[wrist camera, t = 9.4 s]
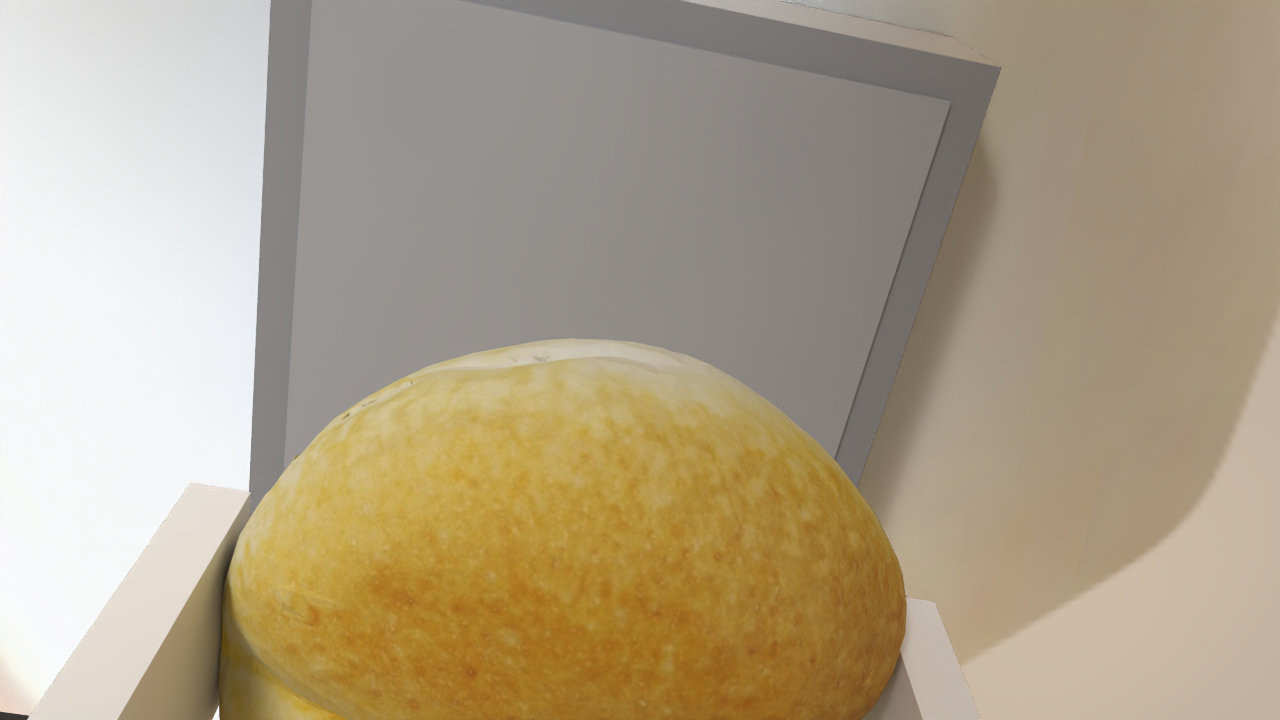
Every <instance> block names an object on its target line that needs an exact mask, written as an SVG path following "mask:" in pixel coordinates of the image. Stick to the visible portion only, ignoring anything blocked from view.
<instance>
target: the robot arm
mask: <svg viewBox="0 0 1280 720" xmlns="http://www.w3.org/2000/svg"><path fill="white" fill-rule="evenodd" d="M250 498H251V492H246V491H240V490H233V489H227V488H221V487H215V486H208V485H202V484H196V483H190V484H189V486H188V487H187V488H186V490H185V491H184V493H183V494H182V496H181V497H180V499H179V500H178V502H177V503H176V504H175V506H174V507H173V509H172V510H171V512H170V513H169V515H168V516H167V517H166V519H165V520H164V522H163V523H162V525H161V526H160V528H159V529H158V530H157V532H156V533H155V535H154V536H153V538H152V539H151V541H150V542H149V544H148V545H147V546H146V548H145V549H144V551H143V552H142V554H141V555H140V557H139V558H138V559H137V561H136V562H135V564H134V565H133V567H132V568H131V570H130V571H129V573H128V574H127V575H126V577H125V578H124V580H123V581H122V583H121V584H120V586H119V587H118V588H117V590H116V591H115V593H114V594H113V596H112V597H111V599H110V600H109V601H108V603H107V604H106V606H105V607H104V609H103V610H102V612H101V613H100V615H99V616H98V617H97V619H96V620H95V622H94V623H93V625H92V626H91V628H90V629H89V630H88V632H87V633H86V635H85V636H84V638H83V639H82V641H81V642H80V643H79V645H78V646H77V648H76V649H75V651H74V652H73V654H72V655H71V657H70V658H69V659H68V661H67V662H66V664H65V665H64V667H63V668H62V670H61V671H60V672H59V674H58V675H57V677H56V678H55V680H54V681H53V683H52V684H51V686H50V687H49V688H48V690H47V691H46V693H45V694H44V696H43V697H42V699H41V700H40V701H39V703H38V704H37V706H36V707H35V709H34V710H33V712H32V713H31V714H30V716H27V715H20V714H12V713H5V712H0V720H212V719H213V716H214V714H215V712H216V710H217V708H218V706H219V669H220V657H221V644H222V624H221V605H222V597H223V590H224V583H225V580H226V576H227V573H228V570H229V567H230V563H231V560H232V557H233V554H234V551H235V547H236V544H237V541H238V538H239V535H240V534H241V532H242V530H243V529H244V527H245V525H246V524H247V522H248V520H249V519H250ZM906 603H907V611H906V632H905V636H904V639H903V642H902V646H901V649H900V652H899V656H898V659H897V663H896V666H895V669H894V672H893V675H892V676H891V678H890V680H889V682H888V684H887V685H886V687H885V689H884V691H883V693H882V694H881V696H880V698H879V699H878V701H877V702H876V703H875V705H874V706H873V708H872V709H871V711H870V712H869V713H868V714H867V715H866V716H865V717H864V718H863V719H862V720H981V718H980V715H979V713H978V710H977V708H976V705H975V703H974V700H973V697H972V695H971V693H970V690H969V687H968V685H967V682H966V680H965V677H964V675H963V672H962V670H961V667H960V665H959V662H958V660H957V657H956V654H955V652H954V649H953V647H952V644H951V642H950V639H949V637H948V634H947V632H946V629H945V627H944V624H943V622H942V619H941V617H940V614H939V612H938V609H937V607H936V604H935V602H933V601H927V600H921V599H915V598H908V597H906Z"/></svg>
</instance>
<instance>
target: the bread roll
mask: <svg viewBox="0 0 1280 720" xmlns="http://www.w3.org/2000/svg"><path fill="white" fill-rule="evenodd" d="M297 454H298V453H297ZM297 454H296V455H295V456H294V457H293V459H292V462H291V463H290V465H289V466H288V467H287V469H286V470H285V471H284V472H283V474H282V475H281V476H280V478H279V479H278V481H277V482H276V483H275V485H274V486H273V487H272V489H271V490H270V491H269V492H268V493H266V494H265V496H264V497H263V499H262V500H261V502H260V503H259V505H258V506H257V508H256V509H255V511H254V512H253V514H252V516H251V517H250V519H249V520H248V522H247V524H246V525H245V527H244V529H243V530H242V532H241V534H240V535H239V538H238V541H237V544H236V547H235V551H234V554H233V557H232V560H231V563H230V567H229V570H228V573H227V576H226V580H225V583H224V590H223V597H222V605H221V624H222V644H221V657H220V669H219V717H220V720H862V719H863V718H864V717H865V716H866V715H867V714H868V713H869V712H870V711H871V709H872V708H873V706H874V705H875V703H876V702H877V701H878V699H879V698H880V696H881V694H882V693H883V691H884V689H885V687H886V685H887V684H888V682H889V680H890V678H891V676H892V675H893V672H894V669H895V666H896V663H897V659H898V656H899V652H900V649H901V646H902V642H903V639H904V636H905V632H906V611H907V603H906V596H905V589H904V582H903V575H902V572H901V568H900V565H899V562H898V559H897V556H896V554H895V552H894V550H893V548H892V546H891V544H890V542H889V540H888V537H887V535H886V533H885V531H884V529H883V527H882V525H881V523H880V521H879V519H878V518H877V516H876V515H875V513H874V511H873V510H872V508H871V507H870V505H869V504H868V503H867V501H866V500H865V498H864V497H863V496H862V494H861V493H860V492H859V490H858V489H857V488H856V487H855V485H854V484H853V483H852V481H851V480H850V479H849V477H848V476H847V475H846V474H845V472H844V471H843V470H842V468H841V467H840V466H839V464H838V463H837V462H836V461H835V460H834V459H833V458H832V457H831V456H830V455H829V454H828V452H827V451H826V450H825V449H824V448H823V447H822V446H821V445H820V444H819V443H818V442H817V441H816V440H815V439H814V438H813V437H812V436H810V435H809V434H808V433H807V432H805V431H804V430H803V429H802V428H800V427H799V426H798V425H797V424H796V423H795V422H794V421H792V420H791V419H790V418H789V417H788V416H787V415H786V414H784V413H783V412H782V411H781V410H780V409H779V408H777V407H776V406H775V405H773V404H772V403H771V402H770V401H768V400H767V399H765V398H764V397H762V396H761V395H759V394H758V393H756V392H755V391H753V390H752V389H750V388H749V387H747V386H746V385H744V384H743V383H742V382H740V381H739V380H737V379H735V378H734V377H732V376H730V375H728V374H726V373H725V372H723V371H721V370H719V369H718V368H716V367H714V366H712V365H710V364H708V363H706V362H703V361H701V360H698V359H696V358H693V357H691V356H688V355H686V354H682V353H677V352H672V351H669V350H667V349H665V348H661V347H656V346H651V345H646V344H641V343H637V342H628V341H616V340H599V339H574V338H569V339H554V340H540V341H535V342H530V343H524V344H519V345H513V346H508V347H503V348H497V349H492V350H486V351H481V352H476V353H472V354H469V355H465V356H461V357H458V358H454V359H451V360H447V361H444V362H440V363H437V364H434V365H430V366H427V367H425V368H423V369H421V370H419V371H416V372H414V373H412V374H410V375H408V376H406V377H404V378H401V379H399V380H397V381H395V382H393V383H391V384H390V385H388V386H386V387H384V388H382V389H380V390H379V391H377V392H375V393H373V394H371V395H370V396H368V397H366V398H364V399H363V400H361V401H360V402H358V403H357V404H355V405H354V406H352V407H351V408H349V409H348V410H346V411H345V412H343V413H342V414H340V415H339V416H337V417H336V418H334V419H333V420H332V421H331V422H330V423H329V424H328V425H327V426H326V427H325V428H324V429H323V430H322V431H321V432H320V433H319V434H318V435H317V436H316V437H315V438H314V439H313V441H312V442H311V443H310V444H309V445H308V446H307V447H306V449H305V450H304V451H303V452H302V453H301V454H300V455H299V456H298V455H297Z"/></svg>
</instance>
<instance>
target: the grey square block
mask: <svg viewBox="0 0 1280 720" xmlns="http://www.w3.org/2000/svg"><path fill="white" fill-rule="evenodd" d="M1001 68H1002V67H1000V66H998V65H997V64H995V63H994V62H992V61H990V60H989V59H987V58H986V57H984V56H982V55H981V54H979V53H978V52H976V51H974V50H973V49H971V48H970V47H968V46H966V45H965V44H963V43H961V42H960V41H958V40H957V39H955V38H953V37H950V36H945V35H940V34H936V33H931V32H926V31H921V30H917V29H912V28H907V27H903V26H898V25H893V24H888V23H884V22H879V21H874V20H869V19H865V18H860V17H855V16H850V15H846V14H841V13H836V12H831V11H827V10H822V9H817V8H813V7H808V6H803V5H798V4H794V3H789V2H784V1H779V0H271V10H270V33H269V55H268V78H267V100H266V123H265V145H264V168H263V190H262V213H261V235H260V258H259V281H258V303H257V326H256V348H255V371H254V393H253V416H252V438H251V461H250V483H249V492H251V498H250V517H251V516H252V514H253V512H254V511H255V509H256V508H257V506H258V505H259V503H260V502H261V500H262V499H263V497H264V496H265V494H266V493H268V492H269V491H270V490H271V489H272V487H273V486H274V485H275V483H276V482H277V481H278V479H279V478H280V476H281V475H282V474H283V472H284V471H285V470H286V469H287V467H288V466H289V465H290V463H291V462H292V459H293V457H294V456H295V455H296V454H297V453H298V454H297V455H298V456H299V455H300V454H301V453H302V452H303V451H304V450H305V449H306V447H307V446H308V445H309V444H310V443H311V442H312V441H313V439H314V438H315V437H316V436H317V435H318V434H319V433H320V432H321V431H322V430H323V429H324V428H325V427H326V426H327V425H328V424H329V423H330V422H331V421H332V420H333V419H334V418H336V417H337V416H339V415H340V414H342V413H343V412H345V411H346V410H348V409H349V408H351V407H352V406H354V405H355V404H357V403H358V402H360V401H361V400H363V399H364V398H366V397H368V396H370V395H371V394H373V393H375V392H377V391H379V390H380V389H382V388H384V387H386V386H388V385H390V384H391V383H393V382H395V381H397V380H399V379H401V378H404V377H406V376H408V375H410V374H412V373H414V372H416V371H419V370H421V369H423V368H425V367H427V366H430V365H434V364H437V363H440V362H444V361H447V360H451V359H454V358H458V357H461V356H465V355H469V354H472V353H476V352H481V351H486V350H492V349H497V348H503V347H508V346H513V345H519V344H524V343H530V342H535V341H540V340H554V339H569V338H574V339H599V340H616V341H628V342H637V343H641V344H646V345H651V346H656V347H661V348H665V349H667V350H669V351H672V352H677V353H682V354H686V355H688V356H691V357H693V358H696V359H698V360H701V361H703V362H706V363H708V364H710V365H712V366H714V367H716V368H718V369H719V370H721V371H723V372H725V373H726V374H728V375H730V376H732V377H734V378H735V379H737V380H739V381H740V382H742V383H743V384H744V385H746V386H747V387H749V388H750V389H752V390H753V391H755V392H756V393H758V394H759V395H761V396H762V397H764V398H765V399H767V400H768V401H770V402H771V403H772V404H773V405H775V406H776V407H777V408H779V409H780V410H781V411H782V412H783V413H784V414H786V415H787V416H788V417H789V418H790V419H791V420H792V421H794V422H795V423H796V424H797V425H798V426H799V427H800V428H802V429H803V430H804V431H805V432H807V433H808V434H809V435H810V436H812V437H813V438H814V439H815V440H816V441H817V442H818V443H819V444H820V445H821V446H822V447H823V448H824V449H825V450H826V451H827V452H828V454H829V455H830V456H831V457H832V458H833V459H834V460H835V461H836V462H837V463H838V464H839V466H840V467H841V468H842V470H843V471H844V472H845V474H846V475H847V476H848V477H849V479H850V480H851V481H852V483H853V484H854V485H855V487H856V488H857V486H858V483H859V481H860V478H861V475H862V472H863V469H864V466H865V463H866V460H867V457H868V454H869V451H870V449H871V446H872V443H873V440H874V437H875V434H876V431H877V428H878V425H879V422H880V419H881V417H882V414H883V411H884V408H885V405H886V402H887V399H888V396H889V393H890V390H891V387H892V385H893V382H894V379H895V376H896V373H897V370H898V367H899V364H900V361H901V358H902V355H903V353H904V350H905V347H906V344H907V341H908V338H909V335H910V332H911V329H912V326H913V323H914V321H915V318H916V315H917V312H918V309H919V306H920V303H921V300H922V297H923V294H924V292H925V289H926V286H927V283H928V280H929V277H930V274H931V271H932V268H933V265H934V262H935V260H936V257H937V254H938V251H939V248H940V245H941V242H942V239H943V236H944V233H945V230H946V228H947V225H948V222H949V219H950V216H951V213H952V210H953V207H954V204H955V201H956V198H957V196H958V193H959V190H960V187H961V184H962V181H963V178H964V175H965V172H966V169H967V166H968V164H969V161H970V158H971V155H972V152H973V149H974V146H975V143H976V140H977V137H978V134H979V132H980V129H981V126H982V123H983V120H984V117H985V114H986V111H987V108H988V105H989V102H990V100H991V97H992V94H993V91H994V88H995V85H996V82H997V79H998V76H999V73H1000V70H1001Z"/></svg>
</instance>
